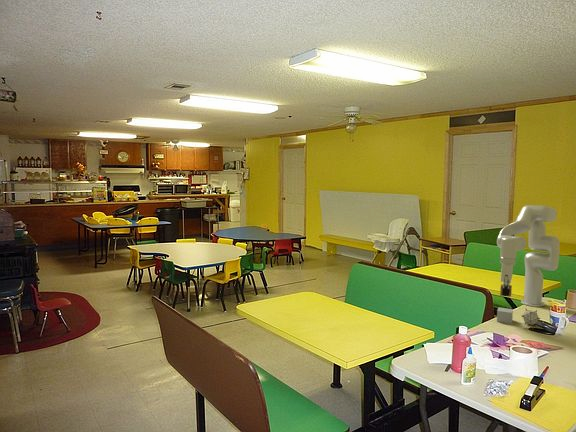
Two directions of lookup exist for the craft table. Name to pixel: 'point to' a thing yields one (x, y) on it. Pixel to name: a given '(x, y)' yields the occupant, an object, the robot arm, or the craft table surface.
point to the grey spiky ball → (530, 317)
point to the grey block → (504, 315)
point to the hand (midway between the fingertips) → (505, 294)
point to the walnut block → (509, 290)
